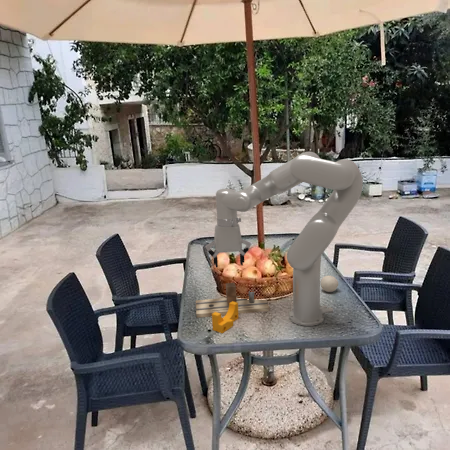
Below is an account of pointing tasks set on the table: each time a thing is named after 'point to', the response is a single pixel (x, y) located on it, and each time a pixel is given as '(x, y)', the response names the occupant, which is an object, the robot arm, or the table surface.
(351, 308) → the table surface
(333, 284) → the baseball
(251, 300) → the fixed leg
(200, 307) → the board
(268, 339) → the table surface
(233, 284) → the block
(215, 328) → the pipe clamp
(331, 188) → the robot arm
